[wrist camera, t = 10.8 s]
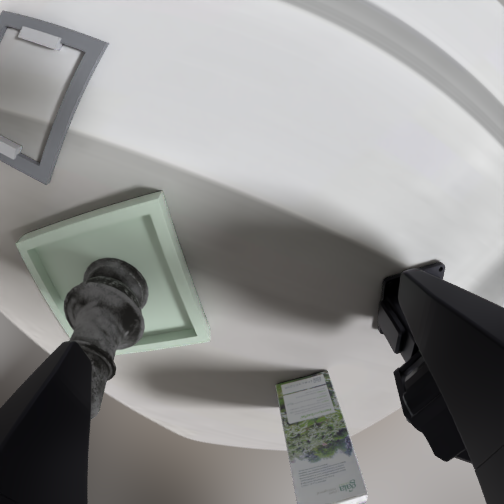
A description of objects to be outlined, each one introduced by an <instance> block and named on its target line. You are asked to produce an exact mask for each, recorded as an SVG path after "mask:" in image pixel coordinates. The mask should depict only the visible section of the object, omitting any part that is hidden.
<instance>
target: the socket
mask: <svg viewBox="0 0 504 504" xmlns="http://www.w3.org/2000/svg"><path fill="white" fill-rule="evenodd" d="M8 26H9V27H12V28H16V29H19V30H21V31H20V33H19V35H18V37H19V38H22V39H25V40H28V41H31V42H34V43H37V44H40V45H43V46H46V47H49V48H51V49H55V50H60V48H61V47H62V45H63V44H65V45H68V46H71V47H73V48H76V49H79V50H81V51H84V52H85V54H84V56H83V58H82V60H81V62H80V64H79V66H78V68H77V70H76V72H75V74H74V76H73V78H72V80H71V83H70V85H69V87H68V89H67V91H66V94H65V96H64V98H63V101H62V103H61V106H60V108H59V111H58V113H57V116H56V118H55V121H54V123H53V126H52V129H51V132H50V134H49V137H48V140H47V143H46V146H45V149H44V152H43V155H42V159H41V162H40V163H39V162H37V161H35V160H33V159H31V158H29V157H27V156H25V155H24V154H22V153H20V152H21V149H22V146H20V145H18V144H17V143H15V142H13V141H11V140H9V139H7V138H5V137H3V136H1V135H0V161H2V162H4V163H6V164H8V165H10V166H11V167H13V168H15V169H17V170H19V171H21V172H23V173H24V174H26V175H28V176H30V177H32V178H34V179H36V180H38V181H39V182H41V183H43V184H45V185H47V184H49V183H50V180H51V176H52V173H53V170H54V167H55V164H56V161H57V158H58V155H59V152H60V149H61V146H62V144H63V141H64V138H65V136H66V133H67V130H68V128H69V125H70V123H71V120H72V118H73V115H74V113H75V111H76V108H77V106H78V104H79V102H80V99H81V97H82V95H83V93H84V91H85V89H86V86H87V84H88V82H89V80H90V78H91V76H92V74H93V72H94V70H95V68H96V66H97V64H98V63H99V61H100V59H101V57H102V55H103V53H104V52H105V50H106V48H107V46H108V44H109V43H106V42H104V41H101V40H99V39H96V38H93V37H91V36H88V35H85V34H82V33H79V32H77V31H74V30H71V29H68V28H65V27H62V26H58V25H55V24H52V23H49V22H45V21H42V20H38V19H35V18H31V17H28V16H24V15H20V14H16V13H12V12H7V11H2V13H1V15H0V42H1V40H2V38H3V36H4V33H5V31H6V29H7V27H8Z"/></svg>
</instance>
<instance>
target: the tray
mask: <svg viewBox="0 0 504 504" xmlns="http://www.w3.org/2000/svg"><path fill="white" fill-rule="evenodd" d="M16 246H17V248H18V250H19V252H20V254H21V256H22V258H23V260H24V262H25V264H26V266H27V268H28V270H29V272H30V274H31V275H32V277H33V279H34V281H35V283H36V285H37V286H38V288H39V290H40V291H41V293H42V295H43V297H44V298H45V300H46V302H47V303H48V305H49V307H50V308H51V310H52V311H53V313H54V315H55V316H56V318H57V319H58V321H59V322H60V324H61V325H62V327H63V328H64V330H65V331H66V333H67V334H68V336H69V337H70V338H71V336H72V334H73V332H74V330H73V329H72V328H71V326H70V325H69V323H68V321H67V319H66V317H65V313H64V300H65V298H66V295H67V293H68V292H69V291H70V290H71V289H72V288H73V287H75V286H77V285H79V284H80V283H82V282H83V277H84V273H85V271H86V269H87V267H88V266H89V265H90V264H91V263H92V262H94V261H96V260H98V259H102V258H117V259H120V260H123V261H126V262H127V263H129V264H131V265H132V266H134V267H135V268H136V269H137V270H138V271H139V272H140V273H141V274H142V276H143V277H144V278H145V280H146V283H147V285H148V291H149V296H148V300H147V303H146V305H145V306H144V307H143V309H141V310H142V315H143V318H144V324H145V329H144V333H143V336H142V338H141V339H140V341H139V342H138V343H136V344H135V345H133V346H132V347H129V348H126V349H123V350H116V353H115V355H121V354H129V353H137V352H145V351H152V350H159V349H166V348H173V347H179V346H185V345H192V344H198V343H203V342H209V341H210V327H209V324H208V321H207V319H206V316H205V313H204V311H203V308H202V305H201V303H200V300H199V297H198V295H197V292H196V289H195V286H194V284H193V281H192V278H191V275H190V273H189V270H188V267H187V264H186V261H185V258H184V255H183V252H182V249H181V247H180V244H179V241H178V238H177V235H176V232H175V229H174V226H173V222H172V219H171V216H170V213H169V210H168V207H167V204H166V200H165V197H164V194H163V191H159V192H155V193H151V194H148V195H144V196H141V197H137V198H134V199H130V200H127V201H123V202H120V203H116V204H113V205H110V206H107V207H103V208H100V209H97V210H94V211H91V212H87V213H84V214H81V215H78V216H75V217H72V218H69V219H66V220H63V221H60V222H58V223H55V224H52V225H49V226H46V227H43V228H41V229H38V230H35V231H32V232H30V233H27V234H25V235H24V236H23V237H22V238H21V239H20V240H19V241H18V242H17V243H16Z"/></svg>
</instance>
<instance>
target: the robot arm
mask: <svg viewBox="0 0 504 504" xmlns="http://www.w3.org/2000/svg"><path fill="white" fill-rule="evenodd" d="M444 271H445V265H444V264H443V263H442V262H439V263H435V264H432V265H429V266H425V267H422V268H418V269H417V268H413V269H409V270H406V271H403V272H402V273H401V274H397V275H394V276H390V277H387V278H386V279H384V281H383V286H382V298H381V302H380V304H379V313H378V325H379V326H378V330H379V332H380V333H381V334H384V335H385V337H386V339H387V340H388V342H389V344H390V346H391V348H392V349H393V351H394V353H396V354H398V353H401V355H402V357H403V359H404V360H405V362H406V363H405V364H403V365H402V366H401V367H400V368H397V369H396V370H395V371H394V376H395V381H396V385H397V389H398V393H399V397H400V401H401V405H402V409H403V413H404V415H405V417H406V419H407V421H408V422H409V423H411V424H412V425H413V426H414V427H415V428H416V429H417V430H418V431H420V432H422V433H423V434H424V436H425V437H426V439H427V441H428V442H429V445H430V447H431V448H432V450H433V452H434V454H435V456H437V457H438V458H440V459H442V460H443V461H446V462H447V461H449V460H450V459H452V458H454V457H455V458H458V459H460V460H463V461H466V462H469V463H472V464H473V467H474V469H475V472H476V475H477V477H478V480H479V483H480V486H481V489H482V492H483V494H484V497H485V500H486V503H487V504H504V308H503V307H501V306H499V305H497V304H495V303H493V302H490V301H488V300H486V299H484V298H482V297H480V296H478V295H475V294H473V293H471V292H469V291H467V290H464V289H462V288H460V287H458V286H456V285H453V284H451V283H449V282H447V281H444V280H443V276H444ZM389 282H390V283H389ZM388 283H389V284H388ZM91 387H92V363H91V360H90V358H89V357H88V356H87V354H86V353H85V352H84V350H83V349H82V347H81V346H80V345H79V343H78V342H76V341H66V342H63V343H62V344H61V345H60V346H59V347H58V348H57V349H56V350H55V351H54V352H53V353H52V354H51V355H50V356H49V357H48V358H47V359H46V360H45V361H44V362H43V363H42V364H41V365H40V366H39V367H38V368H37V369H36V370H35V371H34V372H33V374H32V375H31V376H30V377H29V378H28V379H27V380H26V381H25V382H24V383H23V384H22V385H21V386H20V387H19V388H18V389H17V390H16V392H15V393H14V394H13V395H12V396H11V397H10V398H9V399H8V400H7V401H6V402H5V404H4V405H3V406H2V407H1V408H0V504H87V503H88V501H87V476H88V472H87V471H88V449H89V433H90V421H91Z"/></svg>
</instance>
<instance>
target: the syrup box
mask: <svg viewBox="0 0 504 504" xmlns="http://www.w3.org/2000/svg"><path fill="white" fill-rule="evenodd" d="M276 392H277V397H278V403H279V408H280V414H281V419H282V424H283V430H284V435H285V440H286V446H287V451H288V456H289V462H290V467H291V473H292V478H293V484H294V489H295V494H296V500H297V504H365V503H366V500H367V496H368V494H367V488H366V485H365V482H364V479H363V476H362V473H361V469H360V466H359V463H358V460H357V457H356V454H355V451H354V448H353V444H352V441H351V438H350V435H349V432H348V429H347V426H346V423H345V420H344V417H343V414H342V411H341V408H340V405H339V402H338V399H337V396H336V393H335V390H334V388H333V384H332V382H331V379H330V376H329V373H328V371H324V372H321V373H317V374H314V375H310V376H307V377H303V378H299V379H295V380H292V381H288V382H284V383H280V384H276Z"/></svg>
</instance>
